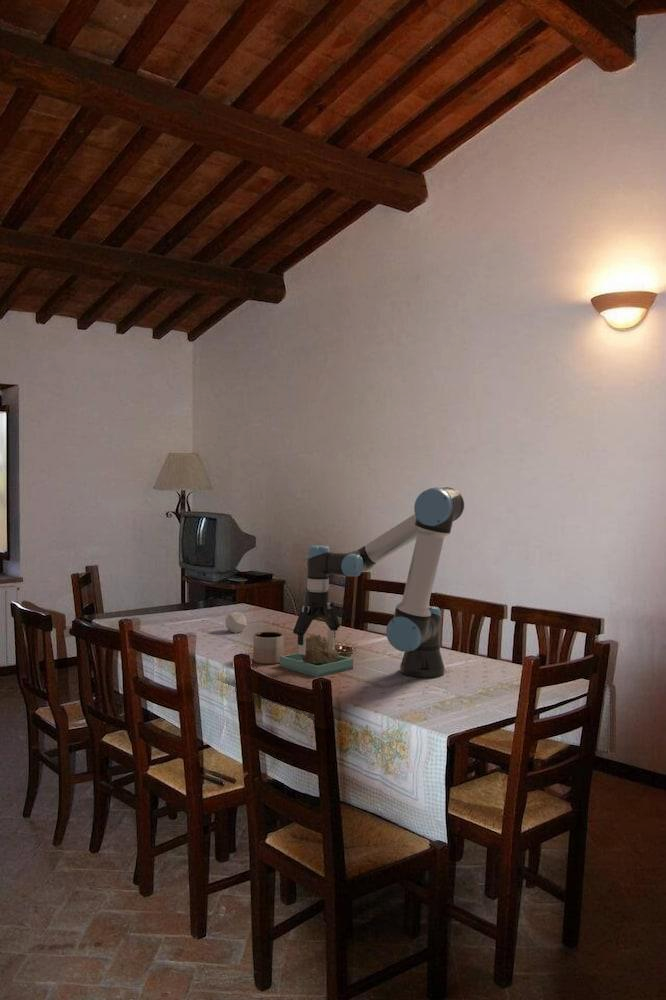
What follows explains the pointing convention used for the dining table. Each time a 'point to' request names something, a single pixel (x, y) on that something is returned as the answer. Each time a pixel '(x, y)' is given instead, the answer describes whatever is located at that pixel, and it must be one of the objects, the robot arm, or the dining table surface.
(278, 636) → the planter
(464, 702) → the dining table surface
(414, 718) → the dining table surface
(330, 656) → the rock
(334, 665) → the glazed dish
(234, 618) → the die
